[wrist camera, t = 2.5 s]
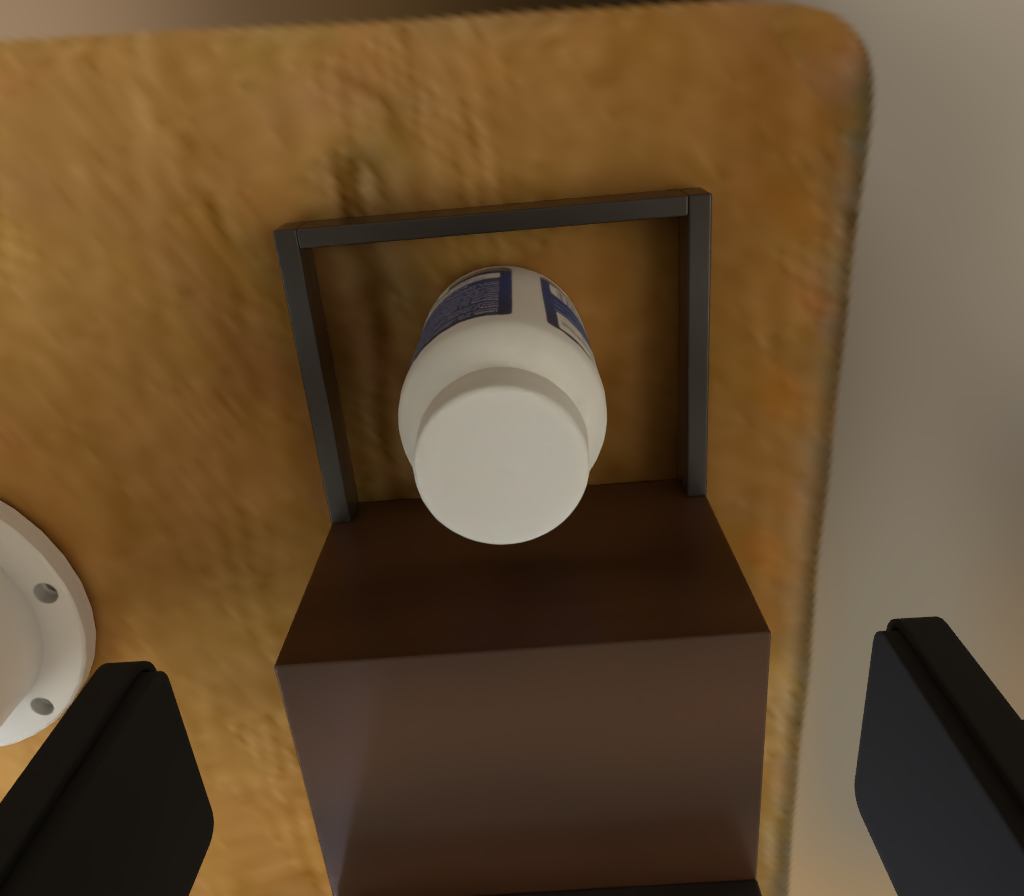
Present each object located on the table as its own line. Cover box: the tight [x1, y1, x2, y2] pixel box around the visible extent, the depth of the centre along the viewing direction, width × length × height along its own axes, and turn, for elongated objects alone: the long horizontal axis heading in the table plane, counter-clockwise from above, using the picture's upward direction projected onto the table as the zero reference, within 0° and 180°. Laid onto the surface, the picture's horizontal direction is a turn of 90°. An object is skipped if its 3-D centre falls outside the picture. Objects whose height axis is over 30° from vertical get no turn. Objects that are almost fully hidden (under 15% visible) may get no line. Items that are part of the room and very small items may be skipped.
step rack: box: [273, 188, 771, 896], centre depth 24 cm, size 20×13×12 cm, turn 5°
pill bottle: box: [398, 266, 607, 544], centre depth 22 cm, size 5×5×10 cm
